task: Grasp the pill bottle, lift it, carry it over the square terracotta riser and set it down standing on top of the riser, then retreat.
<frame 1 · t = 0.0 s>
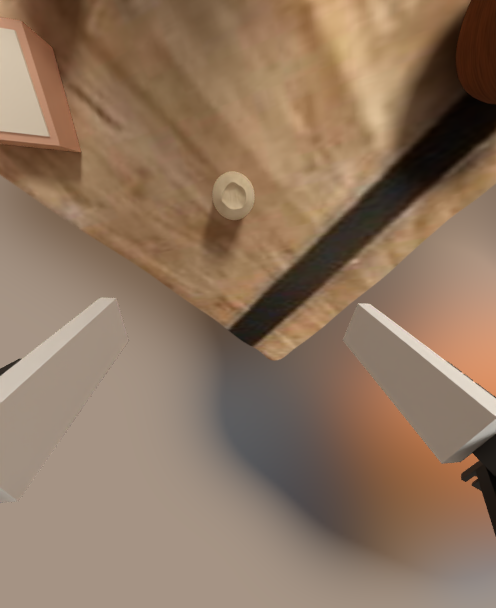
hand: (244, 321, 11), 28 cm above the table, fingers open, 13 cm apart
riser: (25, 99, 25), on the table
bowl: (478, 43, 26), on the table
candle: (232, 197, 32), on the table
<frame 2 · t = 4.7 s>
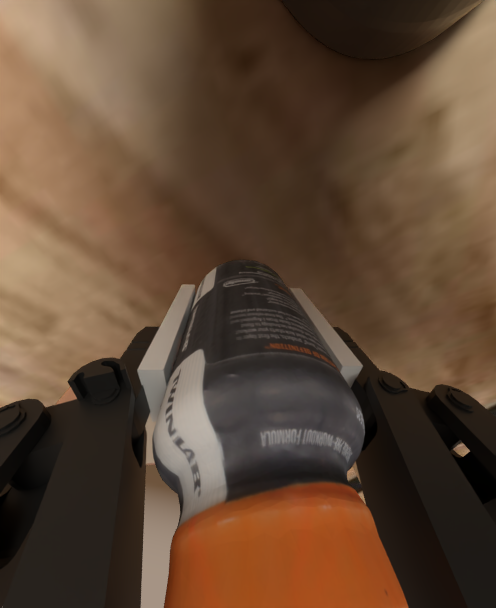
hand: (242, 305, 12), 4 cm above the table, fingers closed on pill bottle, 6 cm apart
riser: (153, 397, 21), on the table
pill bottle: (241, 300, 13), point 3 cm above the table, touching gripper
when the fingers open (5 cm above the table, at t = 8.7 s): pill bottle stays where it is, resting on riser.
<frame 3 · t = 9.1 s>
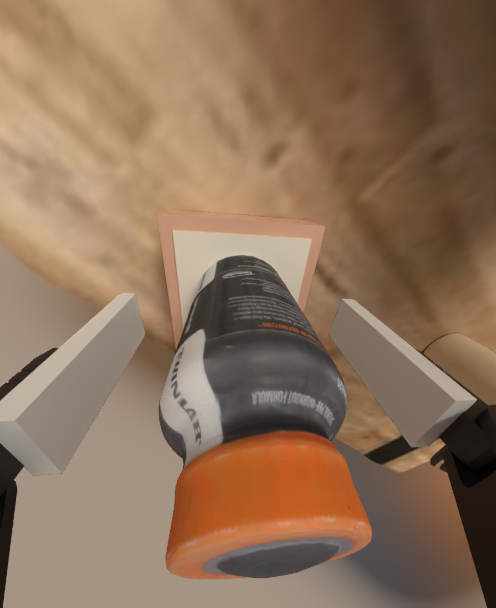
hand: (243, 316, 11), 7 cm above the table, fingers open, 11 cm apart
riser: (238, 275, 17), on the table
pill bottle: (241, 294, 14), point 4 cm above the table, touching riser
candle: (441, 348, 25), on the table
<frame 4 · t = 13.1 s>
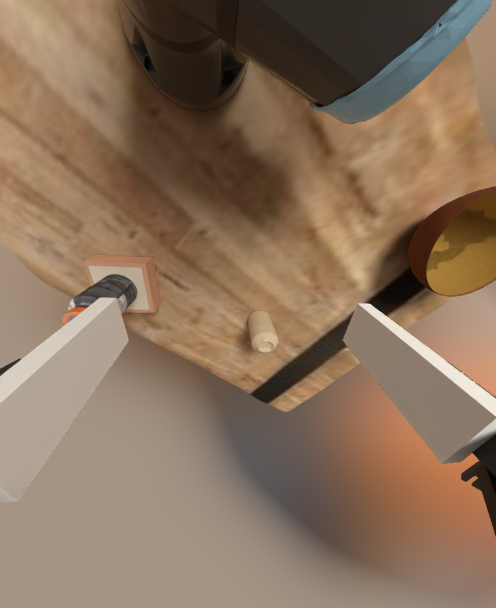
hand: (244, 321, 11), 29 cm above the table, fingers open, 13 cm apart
riser: (131, 280, 38), on the table
bowl: (425, 236, 40), on the table
pill bottle: (121, 288, 35), point 4 cm above the table, touching riser
candle: (258, 319, 46), on the table
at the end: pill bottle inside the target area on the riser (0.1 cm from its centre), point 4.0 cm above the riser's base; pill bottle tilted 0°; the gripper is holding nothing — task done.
